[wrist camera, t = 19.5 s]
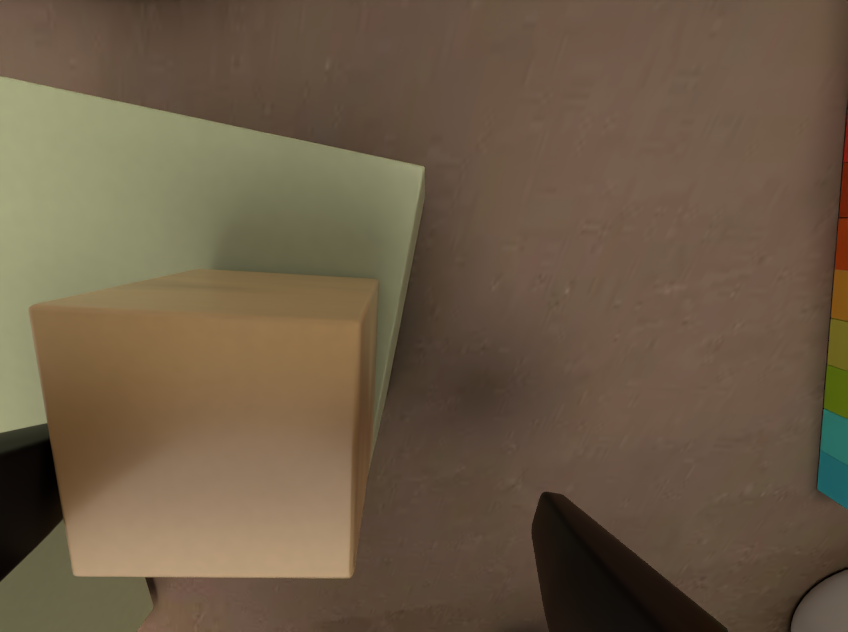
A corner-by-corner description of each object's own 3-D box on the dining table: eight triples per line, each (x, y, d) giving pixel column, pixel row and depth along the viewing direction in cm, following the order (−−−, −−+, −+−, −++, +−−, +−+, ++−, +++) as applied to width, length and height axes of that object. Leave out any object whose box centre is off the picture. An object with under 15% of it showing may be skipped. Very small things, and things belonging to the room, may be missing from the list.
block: (373, 437, 12) (353, 581, 7) (207, 432, 12) (70, 579, 7) (379, 278, 11) (361, 321, 6) (196, 267, 11) (23, 304, 6)
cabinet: (385, 400, 21) (358, 513, 13) (88, 343, 21) (-145, 424, 12) (425, 193, 19) (425, 166, 10) (90, 122, 18) (-198, 33, 10)
